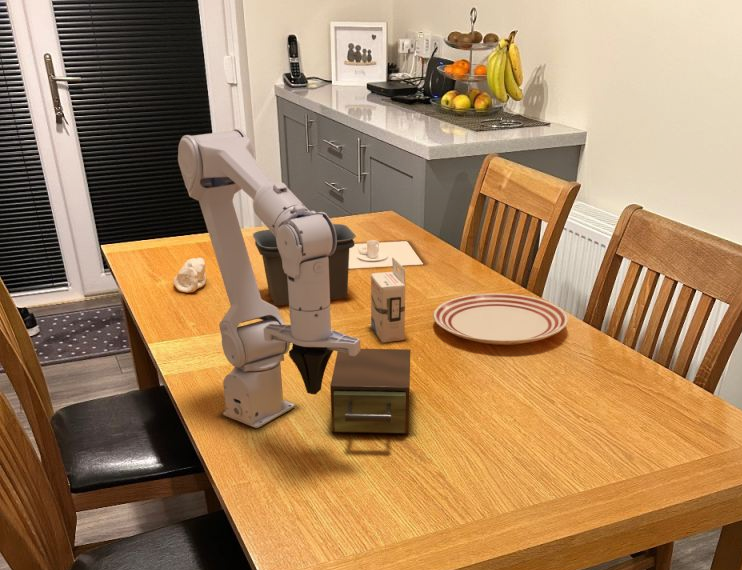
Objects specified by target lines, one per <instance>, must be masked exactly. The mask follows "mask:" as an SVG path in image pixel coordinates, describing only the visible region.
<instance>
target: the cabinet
mask: <svg viewBox="0 0 742 570" xmlns="http://www.w3.org/2000/svg"><path fill="white" fill-rule="evenodd" d="M336 352H337V353H336V356H335V361H334V367H333V372H332V377H331V381H330V385H329V386H330V413H331V432H332V433H336V432H335V418H334V391H339V390H379V391H403V392H406V404H405V433H392V434H394V435H395V434H399V435H401V434H402V435H403V434H404V435H409V433H410V396H411V390H410V389H411V349H408V348H407V349H406V348H405V349H403V348H360V352H359V353H358V354H357V355H356V356H350V355H348V353H345V352H339V351H336ZM341 433H343V434H344V433H345V434H350V433H351V434H352V433H353V434H387V433H386V432H341Z"/></svg>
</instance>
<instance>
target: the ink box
mask: <svg viewBox="0 0 742 570" xmlns="http://www.w3.org/2000/svg"><path fill="white" fill-rule="evenodd" d="M392 265H393V266H392V271H385V272H372V273H370V304H371V305H370V328H371V329H372V331H373V332H374V333H375V335H376V336H377V337H378V339H379V340H380V342H381V343H383V344H385V343H391V342H392V343H393V342H400V341H405V339H406V338H405V336H406V335H405V334H406V333H405V332H406V330H405V329H406V325H405V323H406V268H404V267H403V266H401V265H400V263H399V262H398V261H397V260H395V259H394V257H392Z"/></svg>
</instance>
